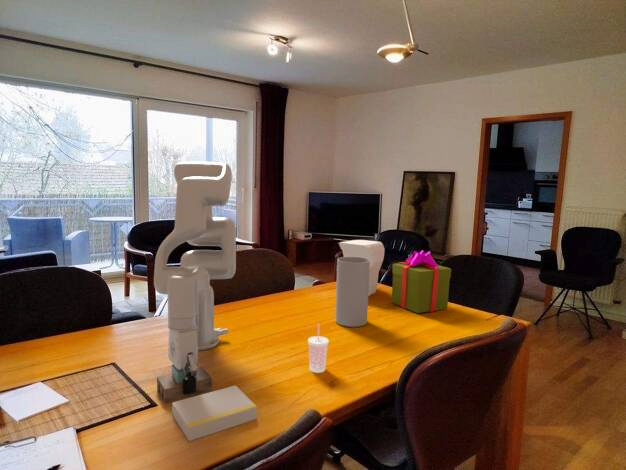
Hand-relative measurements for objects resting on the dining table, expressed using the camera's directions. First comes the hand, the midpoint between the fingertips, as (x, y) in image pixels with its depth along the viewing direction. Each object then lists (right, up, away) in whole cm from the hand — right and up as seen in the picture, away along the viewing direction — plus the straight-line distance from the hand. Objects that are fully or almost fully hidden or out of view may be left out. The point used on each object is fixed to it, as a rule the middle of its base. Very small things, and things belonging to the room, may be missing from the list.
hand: (184, 385), depth 111 cm
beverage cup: (+35, 0, +15) cm, 38 cm away
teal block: (0, +2, 0) cm, 2 cm away
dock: (+11, -3, -12) cm, 16 cm away
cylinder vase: (+49, +5, +56) cm, 75 cm away
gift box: (+81, +7, +80) cm, 114 cm away
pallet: (0, -1, 0) cm, 1 cm away
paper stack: (+59, +11, +99) cm, 116 cm away
